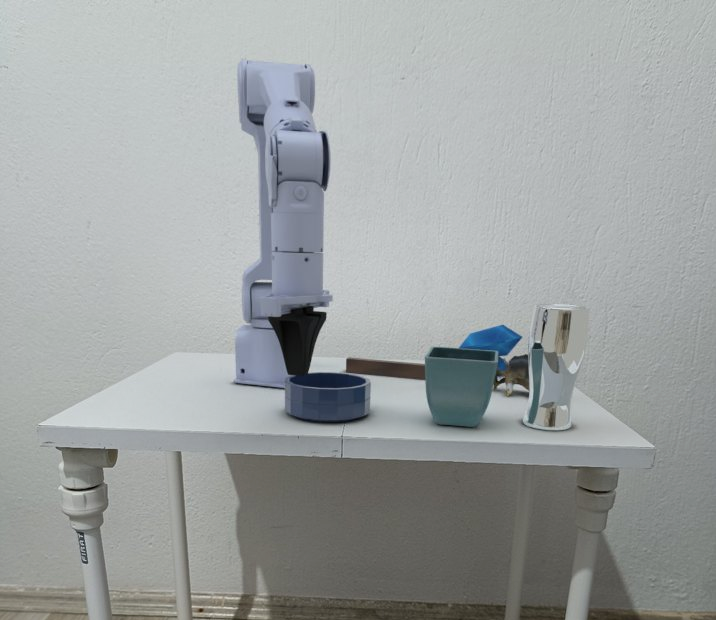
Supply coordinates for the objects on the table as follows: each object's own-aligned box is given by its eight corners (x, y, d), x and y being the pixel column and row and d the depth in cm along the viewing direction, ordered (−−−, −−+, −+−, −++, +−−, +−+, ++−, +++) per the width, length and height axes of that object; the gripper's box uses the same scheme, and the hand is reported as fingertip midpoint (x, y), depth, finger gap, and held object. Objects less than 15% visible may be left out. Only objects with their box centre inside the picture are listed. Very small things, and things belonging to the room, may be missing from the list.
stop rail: (345, 372, 117) (346, 358, 116) (348, 370, 118) (349, 357, 117) (434, 380, 112) (435, 366, 111) (436, 379, 113) (437, 365, 112)
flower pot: (491, 433, 81) (498, 360, 78) (419, 428, 83) (424, 356, 80) (491, 416, 89) (498, 350, 86) (426, 411, 91) (431, 346, 88)
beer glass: (512, 417, 89) (525, 303, 84) (562, 417, 90) (578, 304, 85) (529, 431, 83) (544, 308, 78) (582, 431, 84) (601, 309, 78)
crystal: (452, 330, 121) (519, 318, 118) (459, 377, 124) (525, 366, 121) (450, 336, 114) (521, 323, 111) (458, 385, 117) (527, 373, 114)
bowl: (270, 418, 85) (270, 383, 84) (305, 400, 95) (305, 369, 94) (352, 428, 82) (353, 392, 80) (379, 408, 92) (381, 376, 90)
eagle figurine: (477, 387, 102) (533, 385, 96) (485, 345, 103) (541, 341, 98) (496, 407, 107) (550, 406, 102) (504, 367, 109) (557, 364, 104)
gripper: (304, 253, 65) (304, 389, 70) (353, 253, 78) (350, 367, 83) (240, 251, 68) (244, 383, 72) (299, 251, 81) (299, 362, 85)
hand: (297, 374), depth 78 cm, fingers closed
